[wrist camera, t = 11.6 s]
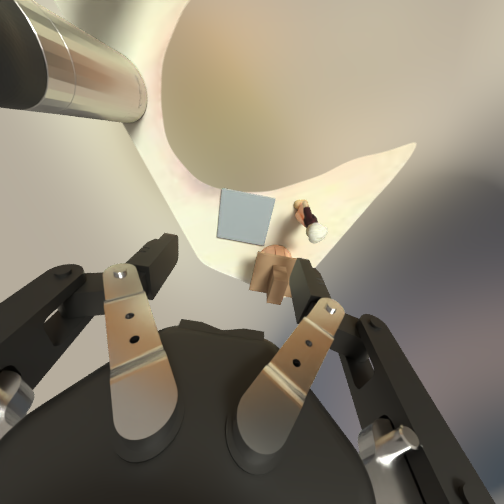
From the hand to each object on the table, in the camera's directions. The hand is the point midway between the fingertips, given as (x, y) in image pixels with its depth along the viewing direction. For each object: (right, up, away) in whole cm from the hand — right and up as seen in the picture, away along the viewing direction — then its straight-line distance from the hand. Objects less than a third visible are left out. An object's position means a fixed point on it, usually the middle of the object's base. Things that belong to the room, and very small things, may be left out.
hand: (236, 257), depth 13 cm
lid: (+6, -5, +29) cm, 30 cm away
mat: (-1, +8, +29) cm, 30 cm away
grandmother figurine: (+12, +9, +28) cm, 31 cm away
